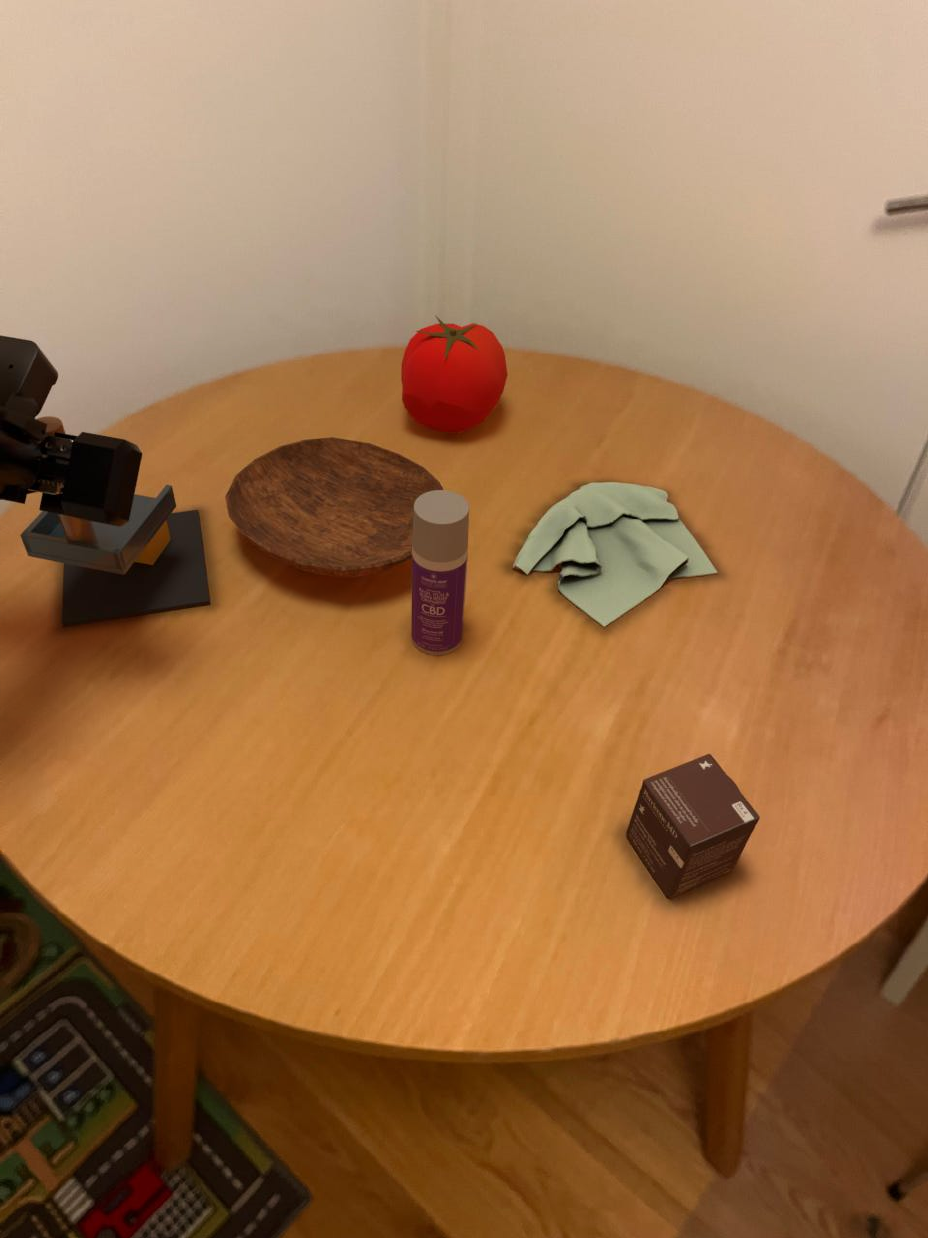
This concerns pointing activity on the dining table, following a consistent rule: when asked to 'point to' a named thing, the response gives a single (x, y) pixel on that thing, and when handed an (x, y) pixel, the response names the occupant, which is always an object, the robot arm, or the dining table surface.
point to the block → (155, 546)
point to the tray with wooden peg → (96, 530)
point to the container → (439, 571)
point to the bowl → (330, 505)
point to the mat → (142, 580)
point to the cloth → (613, 547)
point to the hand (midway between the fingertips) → (74, 482)
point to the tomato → (452, 376)
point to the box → (690, 824)
